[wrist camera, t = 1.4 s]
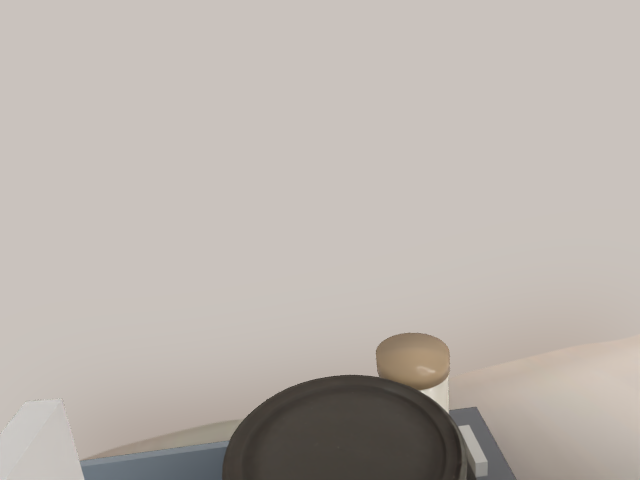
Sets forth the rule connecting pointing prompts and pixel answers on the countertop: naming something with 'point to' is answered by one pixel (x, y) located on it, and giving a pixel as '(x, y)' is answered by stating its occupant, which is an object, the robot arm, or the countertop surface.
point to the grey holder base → (480, 447)
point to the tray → (161, 464)
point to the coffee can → (347, 434)
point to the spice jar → (416, 364)
